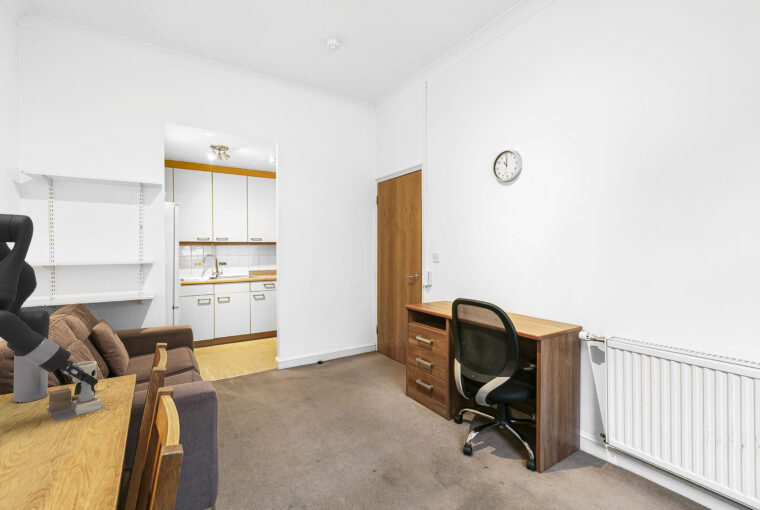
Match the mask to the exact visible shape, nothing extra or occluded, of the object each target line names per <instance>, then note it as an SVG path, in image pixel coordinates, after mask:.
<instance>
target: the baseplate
mask: <svg viewBox="0 0 760 510" xmlns="http://www.w3.org/2000/svg"><path fill="white" fill-rule="evenodd" d="M104 409H107V407H106V406H105V405H103V404H102V403H101V409H98V410H94V411H90V412H86V413H83V414H79V415H76V413H75V412H74V411H73V410H72V401H71V408H68V409H64V410H60V411H56V412H51V410H50V409H49V407H47V408H46V410H47V412H48V413H49V414H50V415H51V417H52V418H53V420H54V421H55V422H60V421H63V420H66V419H71V418H75V417H77V416H82V415H86V414H89V413H90V414H91V413H93V412H98V411H100V410H104Z"/></svg>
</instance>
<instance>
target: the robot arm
mask: <svg viewBox="0 0 760 510" xmlns="http://www.w3.org/2000/svg"><path fill="white" fill-rule="evenodd" d="M33 235H34V223H33V220H32V218H31V217H30V216H28V215H26V214H12V213H11V214H10V213H9V214H8V213H0V338H1V339H2V340H4V341H5V342H6V346H7V349H9V350H11V351H12V352H13V355H14V356H13V358H14V359H13V403H16V402H19V403H18V404H20V403H21V402H22V403H29V402H33V401H38V400H41V399H43V398H46V397H47V396H48V384H49V383H48V381H49V380H48V378H49V377H48V376H49V375H48V374H49V373H53V372H55V371H57V370H59V369H60V370H59V371H60V372H61V373H62V374H65V375H67V376H69V377H71V378H72V379H73V378H77V379H79V380H80V381H84V382H86V383H88V384H89V385H91V386H94V387H95V386H96V385H97V384H98V383H99V380H98V379H97V378H94V377H93V376H91V375H89V374H88V373H86V372H85V371H84V369H82V368H81V367H80V366H78V365H77V363H76V362H75V361H73V360H71V359H70V358H71V355H72V353H71V352H70V351H69V350H67V349H66V348H64V347H63V346H61V345H59V344H57V343H56V342H54V341H53V340H50V339H49V335H50V321H51V320H50V319H51V317H50V313H49V311H48V310H30V311H23V310H21V309H22V307H23V305H24V303H25V302H26V301H27V300H28V299H29V298H30V297H31V295H32V294H33V293H34V292H35V290H36V289H37V286H38V285H37V284H38V281H37V277H36V273H35V269H34V268H33V267H32V265H30V264H29V263H28V262H27V261H26V258H27V255H28V252H29V248H30V245H31V243H32V238H33ZM8 243H12V244H13V243H14V244H13V247H12V249H11V248H10V247H9V245H8ZM69 359H70V360H69Z"/></svg>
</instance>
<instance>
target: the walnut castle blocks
mask: <svg viewBox="0 0 760 510" xmlns="http://www.w3.org/2000/svg"><path fill="white" fill-rule="evenodd" d="M48 392H49V393H48V394H49V395H48V396H49V397H48V398H49V399H48V401H49V402H48V408H49V409H50V410H51V412H56V411H60V410H64V409H68V408H71V402H72V404H73V401H75V400H78V399H79V398H78V396H79V395H80V394H79V395H74V394H73V395H72V389H71V388H70V387H69V386H67V387H63V388H58V389H54V390H50V391H48ZM93 393H94V395H93V396H96V392H93Z"/></svg>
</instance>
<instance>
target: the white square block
mask: <svg viewBox="0 0 760 510" xmlns="http://www.w3.org/2000/svg"><path fill="white" fill-rule="evenodd" d="M101 404H102V399H100V398H99V397H98V396H97V395H95V396H94V398H93V400H91V401H87V402H79V401H78V400H75V401H73V404H72V410H73V411H74V412H75V413H76V415H79V414H82V415H84V414H83V413H86V412H90V411H94V410H97V411H99V410H98V409H101ZM101 410H102V409H101ZM94 412H95V411H94ZM90 413H91V412H90ZM86 414H87V413H86ZM79 416H80V415H79Z"/></svg>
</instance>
